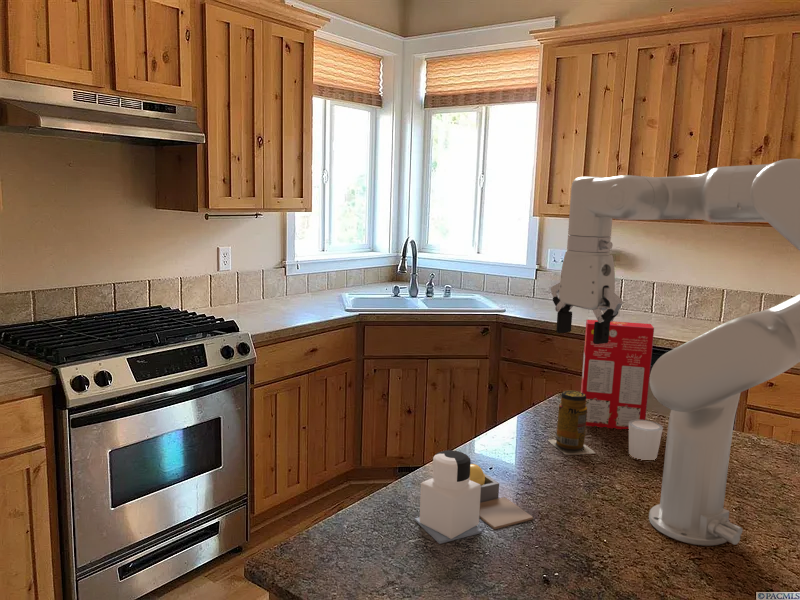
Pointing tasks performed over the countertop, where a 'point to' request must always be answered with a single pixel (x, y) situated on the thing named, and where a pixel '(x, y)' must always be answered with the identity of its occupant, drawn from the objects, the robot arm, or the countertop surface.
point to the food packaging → (617, 374)
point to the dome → (477, 474)
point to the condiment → (572, 424)
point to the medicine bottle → (450, 495)
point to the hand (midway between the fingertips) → (581, 337)
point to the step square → (502, 513)
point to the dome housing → (489, 489)
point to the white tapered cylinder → (644, 439)
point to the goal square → (442, 538)
